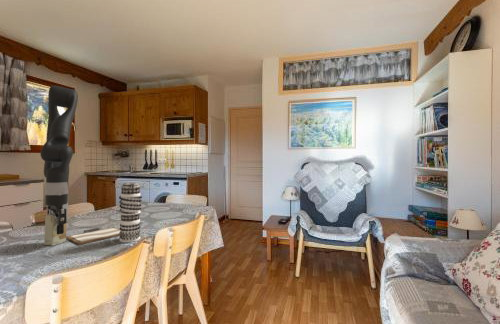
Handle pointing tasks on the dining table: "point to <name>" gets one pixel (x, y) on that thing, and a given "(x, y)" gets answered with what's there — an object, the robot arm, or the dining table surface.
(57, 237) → the skincare box
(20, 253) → the dining table surface
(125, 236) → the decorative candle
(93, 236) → the clipboard
